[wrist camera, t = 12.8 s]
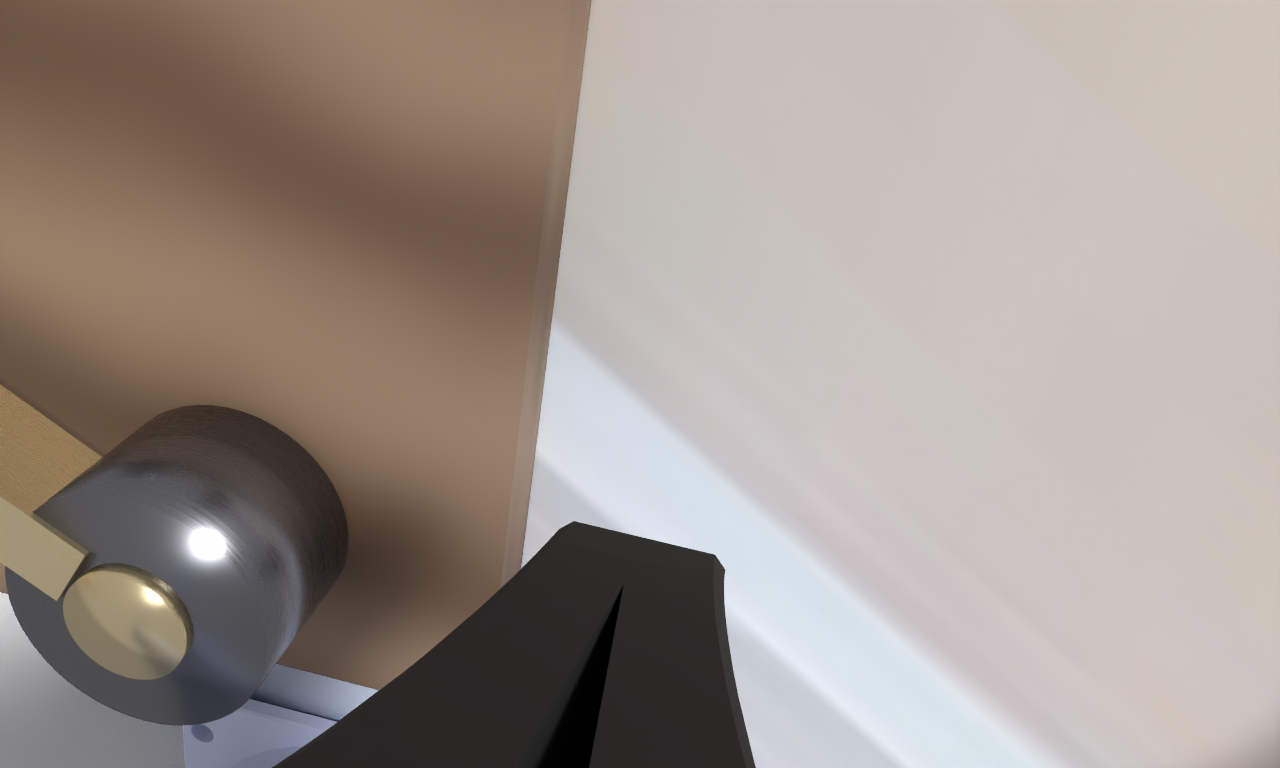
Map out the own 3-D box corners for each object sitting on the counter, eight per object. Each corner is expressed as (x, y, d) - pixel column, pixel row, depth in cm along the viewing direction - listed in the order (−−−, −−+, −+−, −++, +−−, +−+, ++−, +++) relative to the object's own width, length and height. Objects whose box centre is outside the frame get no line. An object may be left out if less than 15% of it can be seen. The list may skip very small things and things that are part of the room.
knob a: (392, 512, 19) (306, 631, 16) (279, 652, 21) (183, 781, 18) (-156, 107, 18) (-360, 158, 15) (-223, 299, 20) (-415, 376, 17)
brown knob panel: (508, 666, 22) (443, 812, 19) (-233, 478, 24) (-416, 581, 21) (678, -702, 13) (607, -905, 9) (-576, -854, 14) (-1025, -1073, 11)
